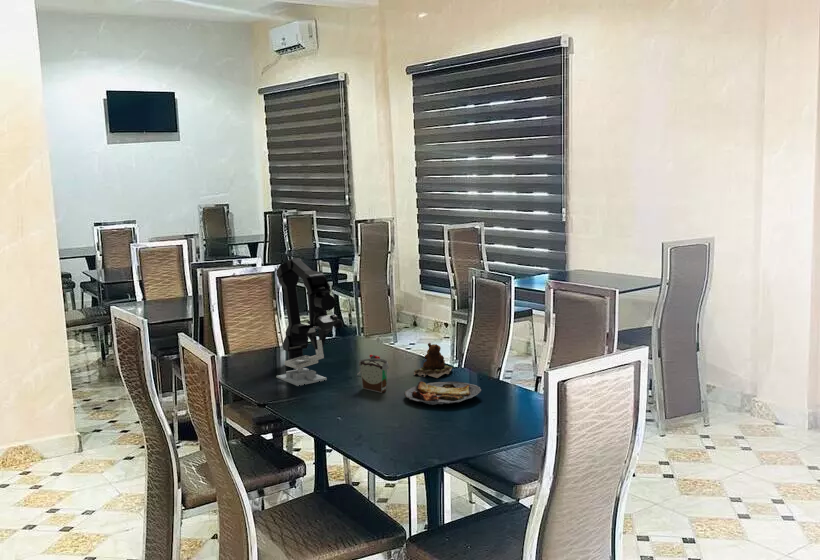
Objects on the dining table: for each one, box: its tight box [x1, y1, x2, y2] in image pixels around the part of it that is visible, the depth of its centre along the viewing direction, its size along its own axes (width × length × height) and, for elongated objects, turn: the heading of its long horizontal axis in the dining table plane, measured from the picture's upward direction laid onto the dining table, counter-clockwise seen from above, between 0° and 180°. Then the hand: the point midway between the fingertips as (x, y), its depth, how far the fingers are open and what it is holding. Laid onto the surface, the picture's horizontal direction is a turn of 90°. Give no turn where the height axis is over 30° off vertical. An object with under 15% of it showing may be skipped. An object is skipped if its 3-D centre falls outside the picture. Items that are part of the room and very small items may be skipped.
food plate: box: [403, 381, 482, 406], centre depth 261 cm, size 25×23×4 cm
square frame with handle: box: [284, 338, 325, 370], centre depth 291 cm, size 14×9×7 cm, turn 127°
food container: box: [358, 358, 390, 394], centre depth 274 cm, size 12×6×10 cm, turn 47°
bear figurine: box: [413, 342, 453, 379], centre depth 294 cm, size 14×15×12 cm
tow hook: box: [356, 354, 381, 376], centre depth 296 cm, size 7×10×7 cm
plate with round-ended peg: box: [275, 360, 327, 387], centre depth 291 cm, size 16×12×7 cm
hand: (318, 348), depth 295 cm, fingers closed on square frame with handle, 2 cm apart
